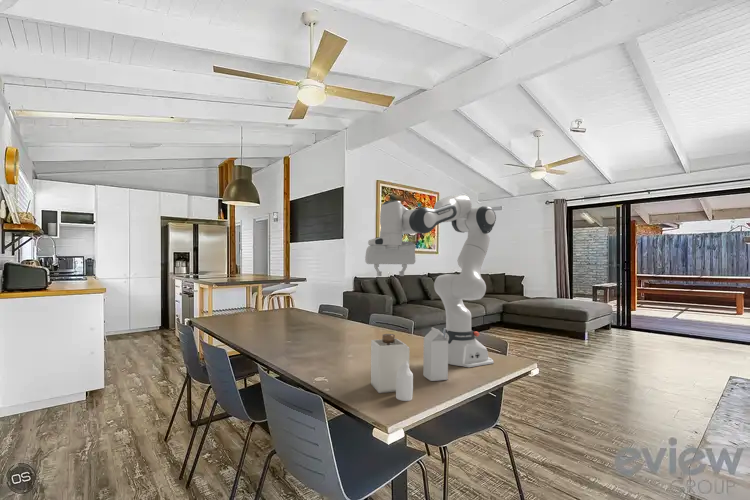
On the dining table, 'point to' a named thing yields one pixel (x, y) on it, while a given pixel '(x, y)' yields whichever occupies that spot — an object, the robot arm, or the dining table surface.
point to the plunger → (388, 338)
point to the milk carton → (435, 356)
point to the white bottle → (404, 383)
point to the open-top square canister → (387, 364)
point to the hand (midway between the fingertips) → (390, 275)
